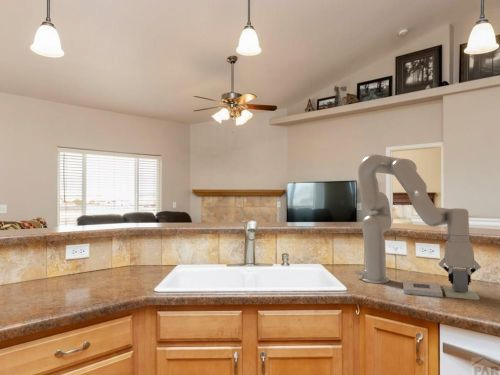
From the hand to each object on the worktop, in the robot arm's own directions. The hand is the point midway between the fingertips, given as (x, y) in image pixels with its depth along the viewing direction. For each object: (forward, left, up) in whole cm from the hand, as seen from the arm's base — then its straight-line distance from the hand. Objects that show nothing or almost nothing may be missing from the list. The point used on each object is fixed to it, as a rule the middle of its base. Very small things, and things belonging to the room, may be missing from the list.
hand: (459, 283), depth 137 cm
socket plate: (-14, 0, -4) cm, 15 cm away
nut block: (0, 0, -2) cm, 2 cm away
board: (0, 0, -4) cm, 4 cm away
